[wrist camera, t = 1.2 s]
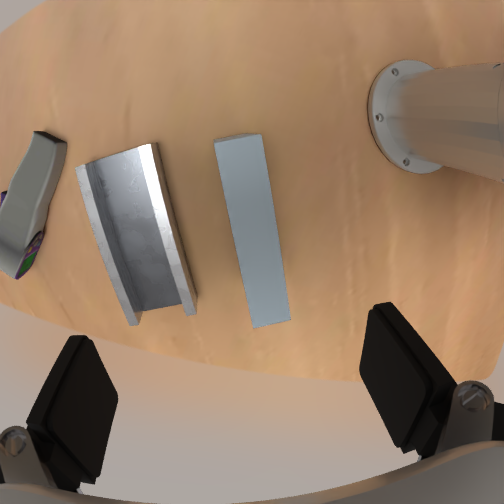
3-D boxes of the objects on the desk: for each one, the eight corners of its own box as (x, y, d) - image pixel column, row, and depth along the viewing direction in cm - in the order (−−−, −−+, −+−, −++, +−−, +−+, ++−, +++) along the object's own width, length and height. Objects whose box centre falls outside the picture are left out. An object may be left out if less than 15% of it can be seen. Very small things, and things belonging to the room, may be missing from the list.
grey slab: (213, 139, 27) (213, 143, 18) (246, 133, 27) (261, 134, 18) (242, 277, 32) (253, 328, 24) (270, 270, 32) (290, 319, 24)
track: (89, 162, 26) (74, 167, 22) (157, 142, 26) (149, 143, 23) (136, 307, 32) (130, 326, 29) (197, 295, 32) (196, 314, 29)
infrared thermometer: (80, 146, 26) (37, 272, 29) (2, 109, 22) (-31, 228, 26) (61, 147, 22) (19, 288, 25) (-21, 107, 18) (-52, 238, 21)
